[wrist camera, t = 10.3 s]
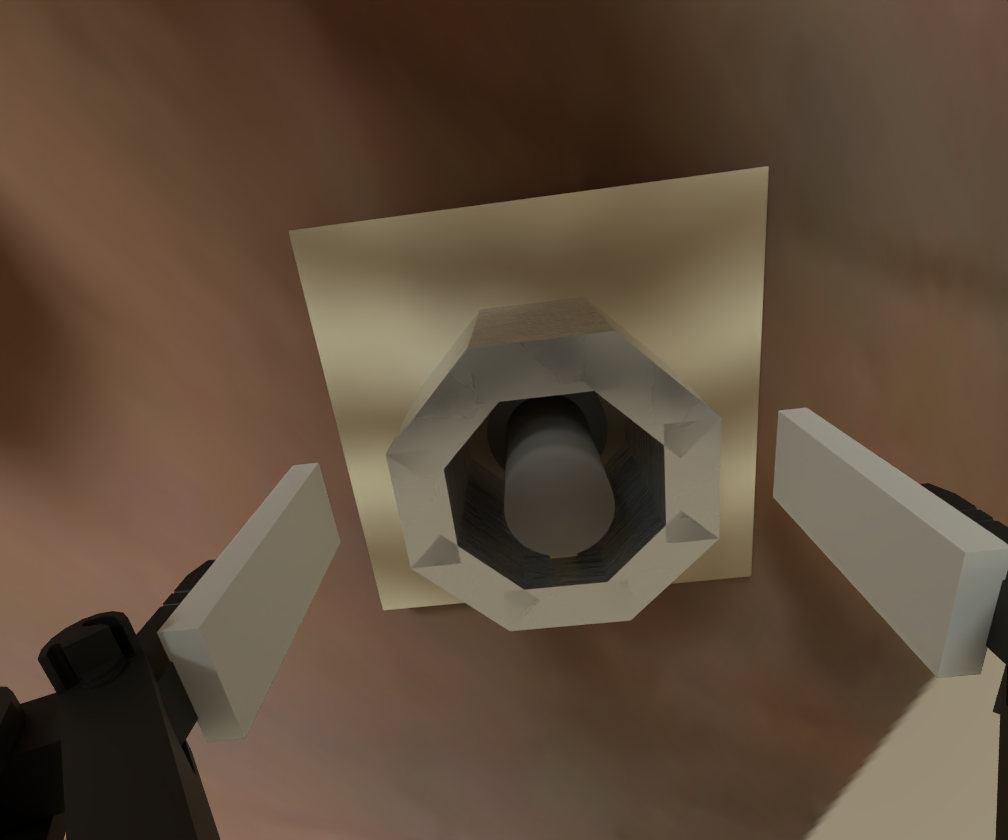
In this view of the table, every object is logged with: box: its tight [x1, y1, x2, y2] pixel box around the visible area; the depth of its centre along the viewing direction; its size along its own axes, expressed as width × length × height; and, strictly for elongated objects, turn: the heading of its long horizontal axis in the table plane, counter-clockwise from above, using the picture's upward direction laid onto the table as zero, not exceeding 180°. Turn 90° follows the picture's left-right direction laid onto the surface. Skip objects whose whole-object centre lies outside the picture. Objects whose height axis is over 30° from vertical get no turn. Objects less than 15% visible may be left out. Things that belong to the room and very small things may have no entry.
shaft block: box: [288, 166, 769, 610], centre depth 19 cm, size 16×16×8 cm
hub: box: [386, 296, 721, 631], centre depth 18 cm, size 9×9×6 cm
